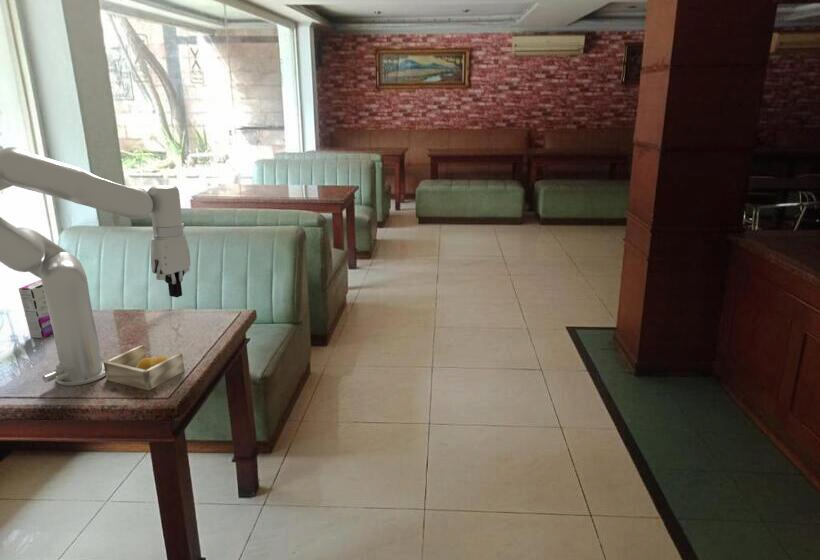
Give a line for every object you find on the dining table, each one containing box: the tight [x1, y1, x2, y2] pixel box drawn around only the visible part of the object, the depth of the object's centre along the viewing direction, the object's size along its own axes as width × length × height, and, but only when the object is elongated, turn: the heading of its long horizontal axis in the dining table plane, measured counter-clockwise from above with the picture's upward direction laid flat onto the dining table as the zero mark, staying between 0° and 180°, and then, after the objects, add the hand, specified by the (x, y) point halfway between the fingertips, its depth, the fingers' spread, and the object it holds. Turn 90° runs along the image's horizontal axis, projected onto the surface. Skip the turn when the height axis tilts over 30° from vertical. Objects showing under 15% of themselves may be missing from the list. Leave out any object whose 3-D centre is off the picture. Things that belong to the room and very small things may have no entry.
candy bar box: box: [18, 279, 54, 339], centre depth 181 cm, size 11×5×16 cm, turn 170°
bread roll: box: [136, 356, 170, 370], centre depth 155 cm, size 8×9×4 cm
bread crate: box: [102, 344, 186, 391], centre depth 152 cm, size 12×15×5 cm
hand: (175, 295), depth 161 cm, fingers closed
